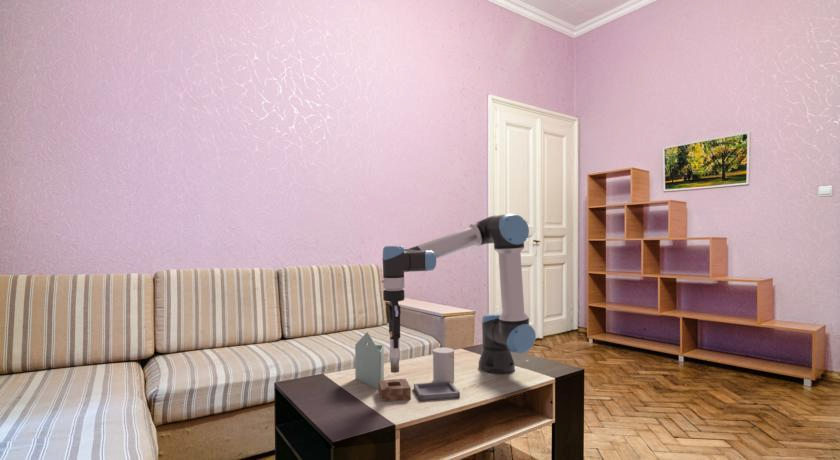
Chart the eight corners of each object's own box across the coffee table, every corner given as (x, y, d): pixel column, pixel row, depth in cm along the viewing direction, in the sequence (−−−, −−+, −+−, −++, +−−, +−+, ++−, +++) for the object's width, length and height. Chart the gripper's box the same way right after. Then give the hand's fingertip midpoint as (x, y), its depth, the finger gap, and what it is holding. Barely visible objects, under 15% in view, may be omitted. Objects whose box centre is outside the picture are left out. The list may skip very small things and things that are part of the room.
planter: (396, 384, 167) (396, 332, 167) (379, 389, 162) (379, 335, 162) (371, 374, 179) (371, 326, 180) (354, 379, 174) (354, 328, 174)
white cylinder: (452, 385, 166) (452, 353, 166) (431, 384, 168) (431, 352, 168) (455, 378, 174) (455, 348, 174) (435, 377, 176) (434, 347, 176)
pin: (390, 370, 157) (389, 331, 157) (398, 369, 158) (397, 330, 158) (391, 373, 154) (390, 332, 155) (399, 372, 155) (399, 332, 155)
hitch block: (405, 389, 162) (405, 378, 162) (410, 399, 152) (410, 387, 152) (378, 391, 160) (378, 380, 160) (381, 401, 150) (381, 389, 150)
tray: (450, 386, 165) (450, 381, 165) (459, 397, 154) (459, 392, 154) (413, 388, 162) (413, 383, 162) (420, 400, 151) (420, 395, 151)
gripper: (380, 287, 164) (381, 350, 163) (386, 292, 148) (387, 362, 148) (400, 286, 165) (401, 349, 165) (408, 291, 149) (409, 361, 149)
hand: (394, 355), depth 156 cm, fingers closed on pin, 3 cm apart
